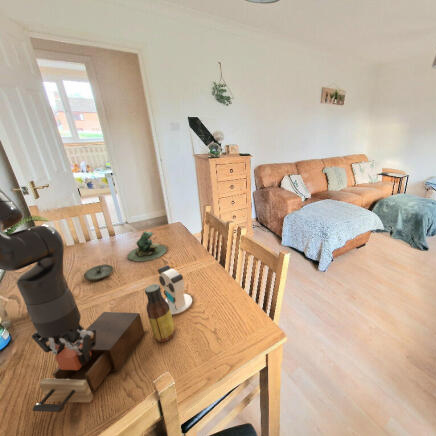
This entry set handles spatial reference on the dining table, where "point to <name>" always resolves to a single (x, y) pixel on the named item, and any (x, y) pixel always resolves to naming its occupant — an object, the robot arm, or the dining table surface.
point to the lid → (98, 272)
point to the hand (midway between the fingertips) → (76, 361)
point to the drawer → (74, 383)
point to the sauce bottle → (159, 314)
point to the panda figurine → (174, 290)
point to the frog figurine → (146, 249)
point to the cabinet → (117, 335)
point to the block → (68, 359)
